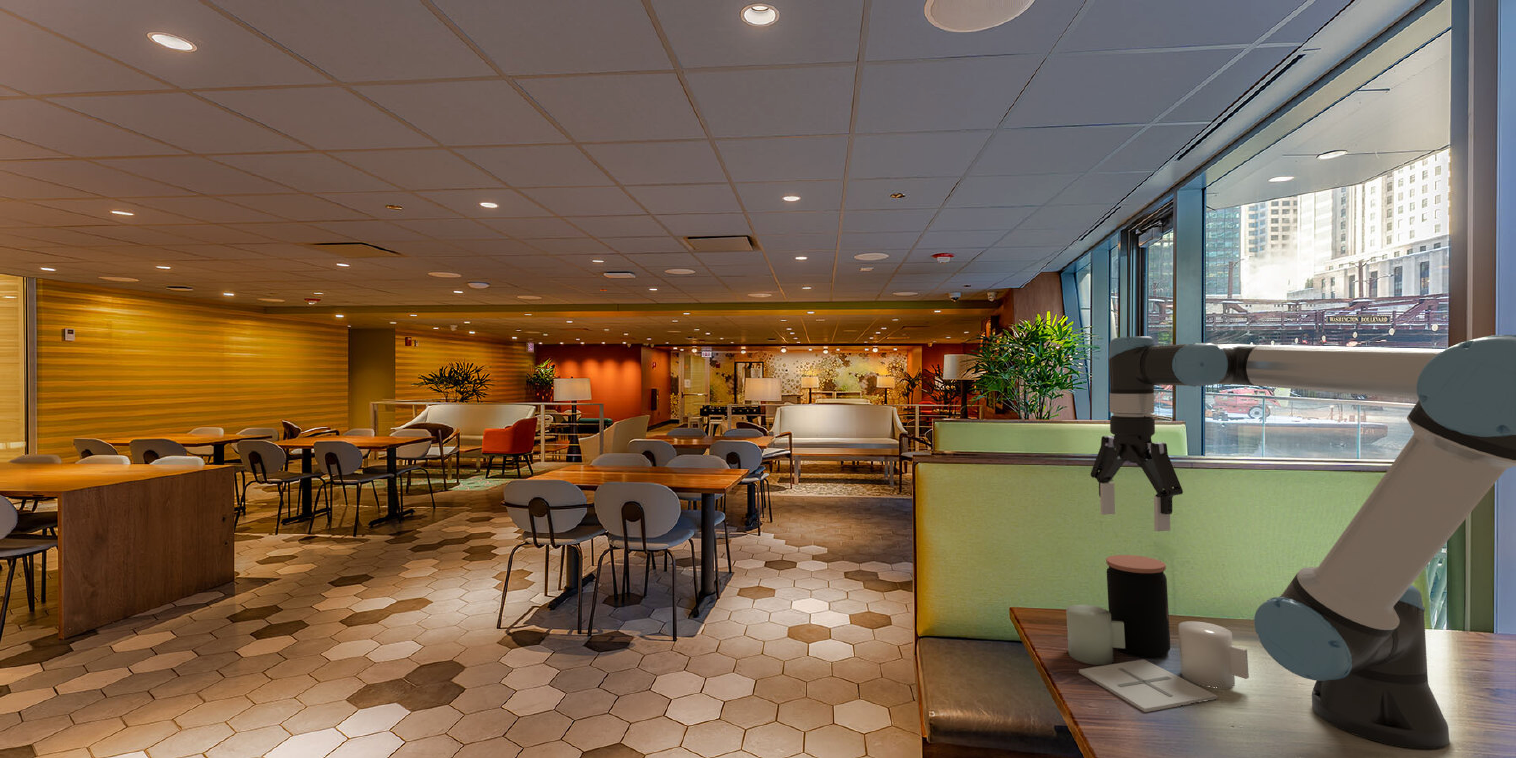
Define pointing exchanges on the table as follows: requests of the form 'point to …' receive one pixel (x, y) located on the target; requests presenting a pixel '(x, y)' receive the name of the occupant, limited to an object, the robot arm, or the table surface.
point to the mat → (1146, 685)
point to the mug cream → (1210, 655)
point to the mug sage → (1093, 634)
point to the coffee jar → (1139, 603)
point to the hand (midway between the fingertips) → (1133, 521)
